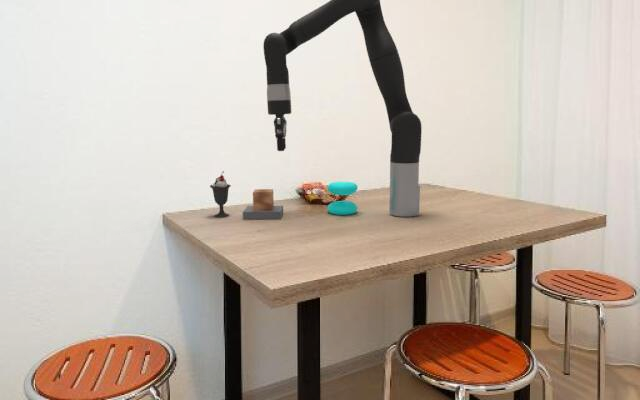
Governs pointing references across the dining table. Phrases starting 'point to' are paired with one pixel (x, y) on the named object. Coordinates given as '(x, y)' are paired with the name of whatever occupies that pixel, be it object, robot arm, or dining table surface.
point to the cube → (263, 200)
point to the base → (262, 213)
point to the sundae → (220, 194)
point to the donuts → (342, 206)
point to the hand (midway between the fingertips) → (281, 150)
